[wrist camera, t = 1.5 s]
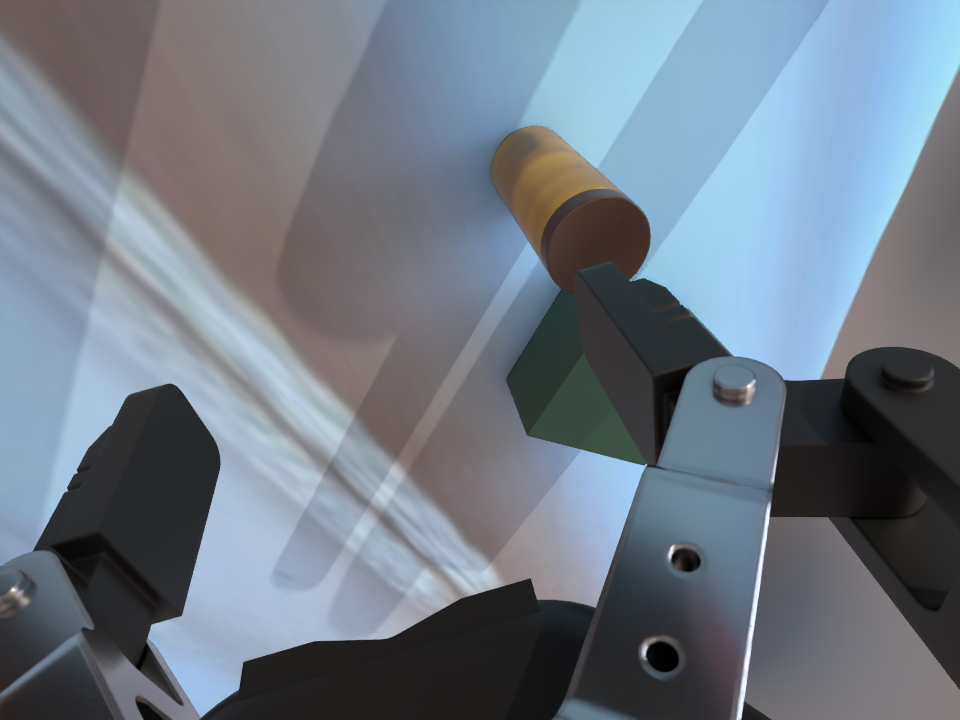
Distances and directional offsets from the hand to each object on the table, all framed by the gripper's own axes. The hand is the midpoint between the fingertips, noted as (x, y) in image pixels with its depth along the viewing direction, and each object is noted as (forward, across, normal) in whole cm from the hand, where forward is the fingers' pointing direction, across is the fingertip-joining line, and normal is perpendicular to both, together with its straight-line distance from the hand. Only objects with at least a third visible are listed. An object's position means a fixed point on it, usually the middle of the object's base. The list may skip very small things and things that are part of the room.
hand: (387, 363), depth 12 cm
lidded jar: (+23, -8, +5) cm, 25 cm away
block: (+23, -11, +19) cm, 32 cm away
